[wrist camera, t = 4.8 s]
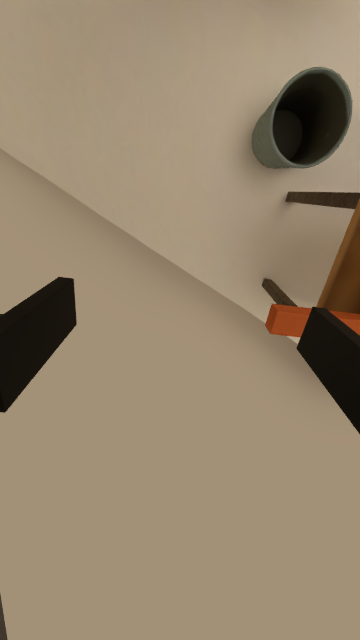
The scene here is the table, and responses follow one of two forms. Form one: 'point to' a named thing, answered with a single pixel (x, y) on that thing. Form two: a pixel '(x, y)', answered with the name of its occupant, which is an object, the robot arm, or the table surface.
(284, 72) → the table surface
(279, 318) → the spatula
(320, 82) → the green cup
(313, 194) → the side table
